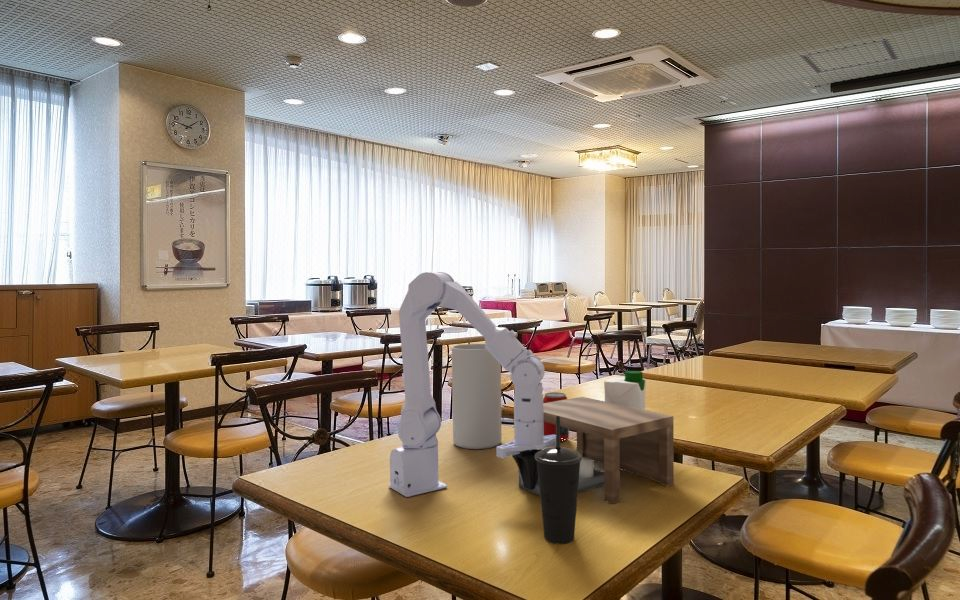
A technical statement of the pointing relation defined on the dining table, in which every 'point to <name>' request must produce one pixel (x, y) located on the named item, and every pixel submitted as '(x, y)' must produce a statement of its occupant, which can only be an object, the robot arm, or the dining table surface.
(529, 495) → the dining table surface
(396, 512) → the dining table surface
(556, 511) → the drinking cup
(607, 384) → the milk carton
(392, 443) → the dining table surface
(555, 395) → the beverage can
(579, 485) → the tray
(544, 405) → the wooden side table
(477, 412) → the cylinder vase
